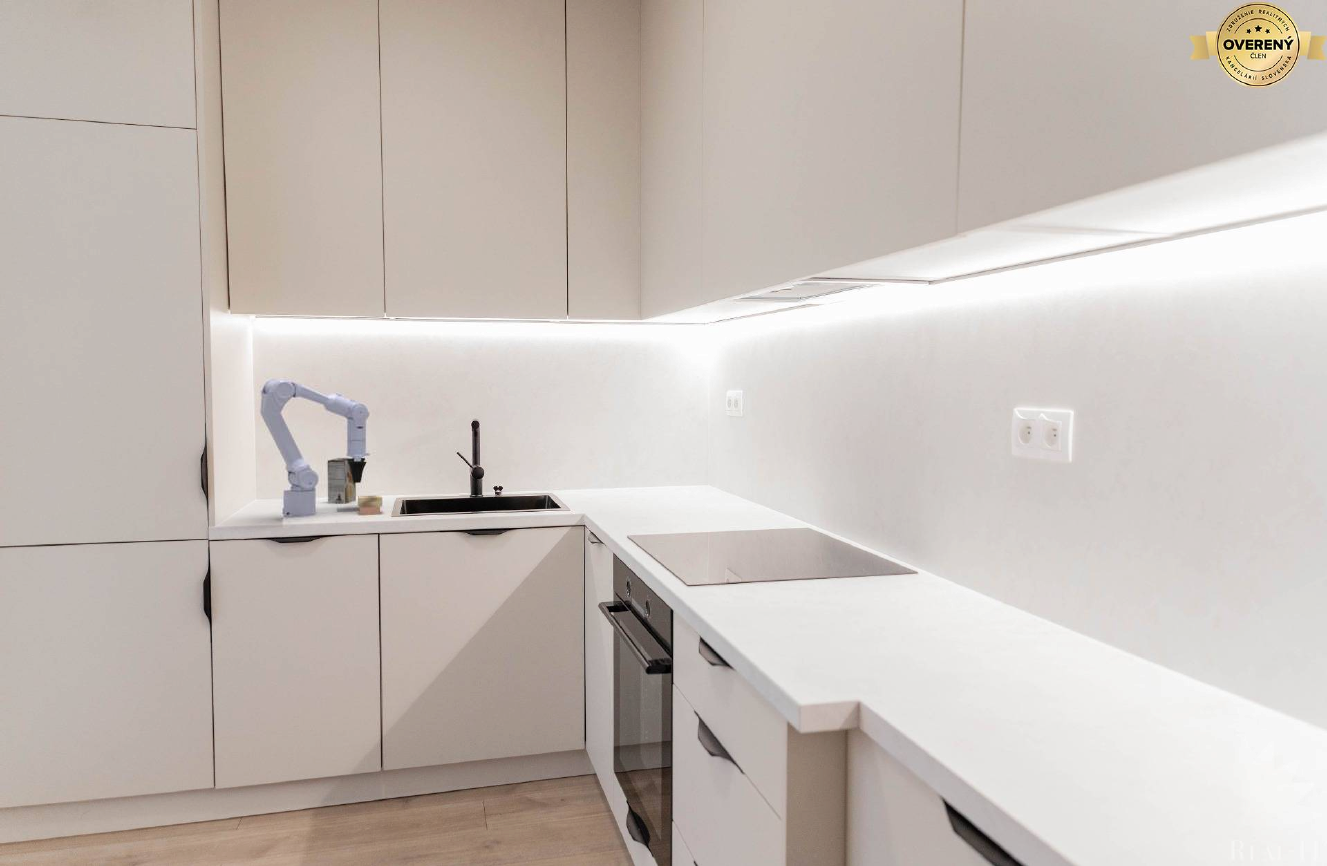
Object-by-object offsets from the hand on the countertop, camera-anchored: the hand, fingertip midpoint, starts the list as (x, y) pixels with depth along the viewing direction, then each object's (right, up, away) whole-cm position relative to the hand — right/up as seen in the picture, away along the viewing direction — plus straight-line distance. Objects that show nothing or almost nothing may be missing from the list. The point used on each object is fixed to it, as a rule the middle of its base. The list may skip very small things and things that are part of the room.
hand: (356, 481), depth 268 cm
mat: (-1, -10, -1) cm, 11 cm away
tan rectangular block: (+7, -8, -7) cm, 12 cm away
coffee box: (-11, -9, +16) cm, 21 cm away
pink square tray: (+7, -11, -7) cm, 15 cm away
